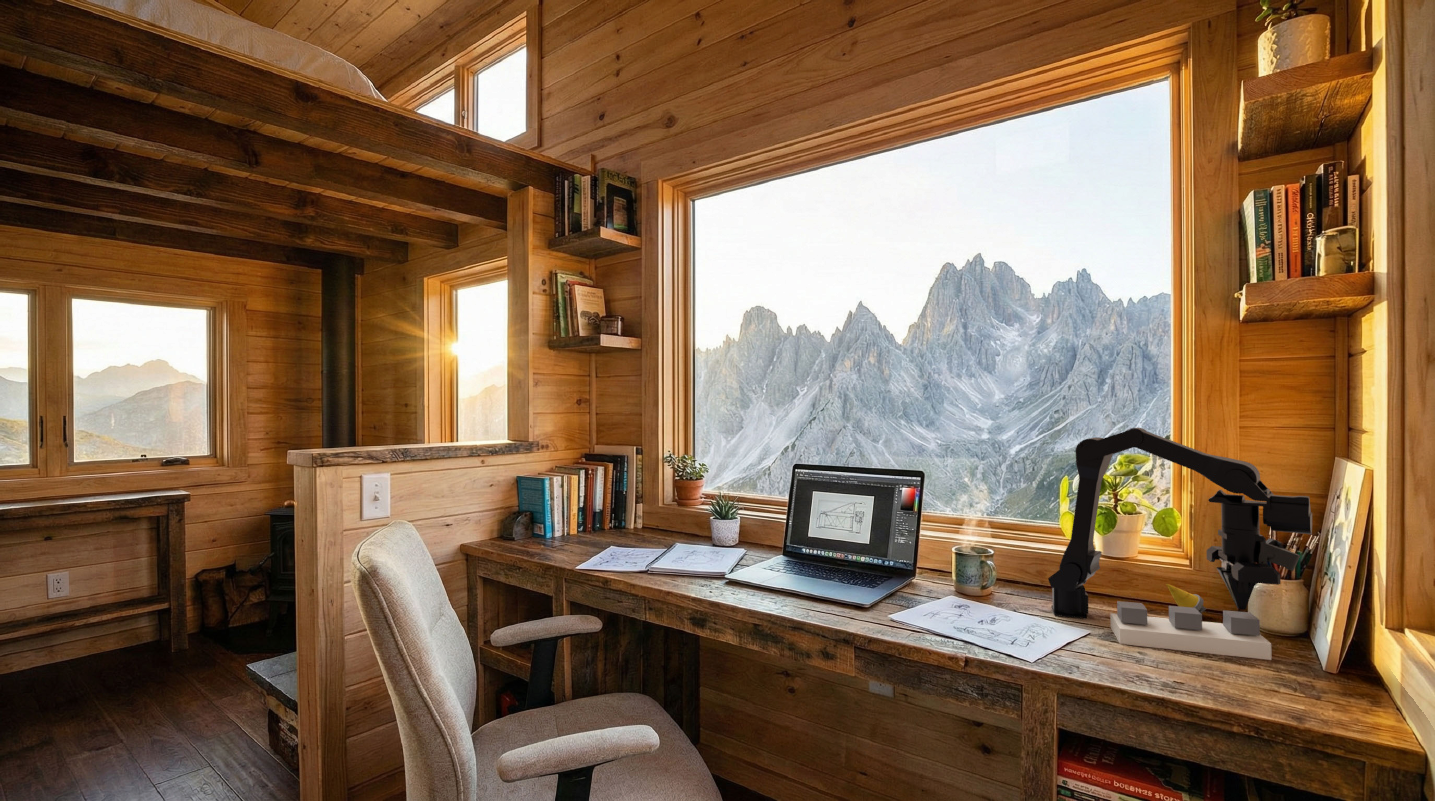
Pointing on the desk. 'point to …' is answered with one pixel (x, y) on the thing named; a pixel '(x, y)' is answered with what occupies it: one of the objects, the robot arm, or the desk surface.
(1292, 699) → the desk surface
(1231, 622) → the button
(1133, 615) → the button
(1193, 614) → the button middle
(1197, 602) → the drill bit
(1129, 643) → the console
